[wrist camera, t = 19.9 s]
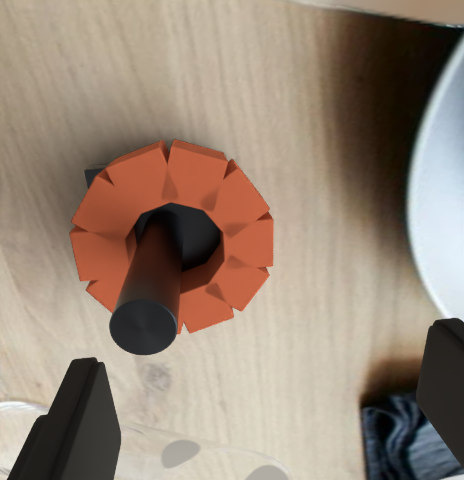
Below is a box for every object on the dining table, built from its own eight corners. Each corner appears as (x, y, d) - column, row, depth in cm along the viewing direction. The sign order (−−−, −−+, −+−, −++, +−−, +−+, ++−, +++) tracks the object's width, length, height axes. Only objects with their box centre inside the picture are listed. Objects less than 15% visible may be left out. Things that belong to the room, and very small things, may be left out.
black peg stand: (90, 164, 22) (-9, 234, 11) (223, 155, 22) (250, 212, 12) (114, 281, 25) (55, 424, 14) (230, 270, 25) (257, 399, 15)
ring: (69, 144, 20) (50, 152, 17) (264, 135, 20) (274, 140, 18) (103, 315, 24) (93, 342, 21) (264, 302, 25) (272, 326, 22)
